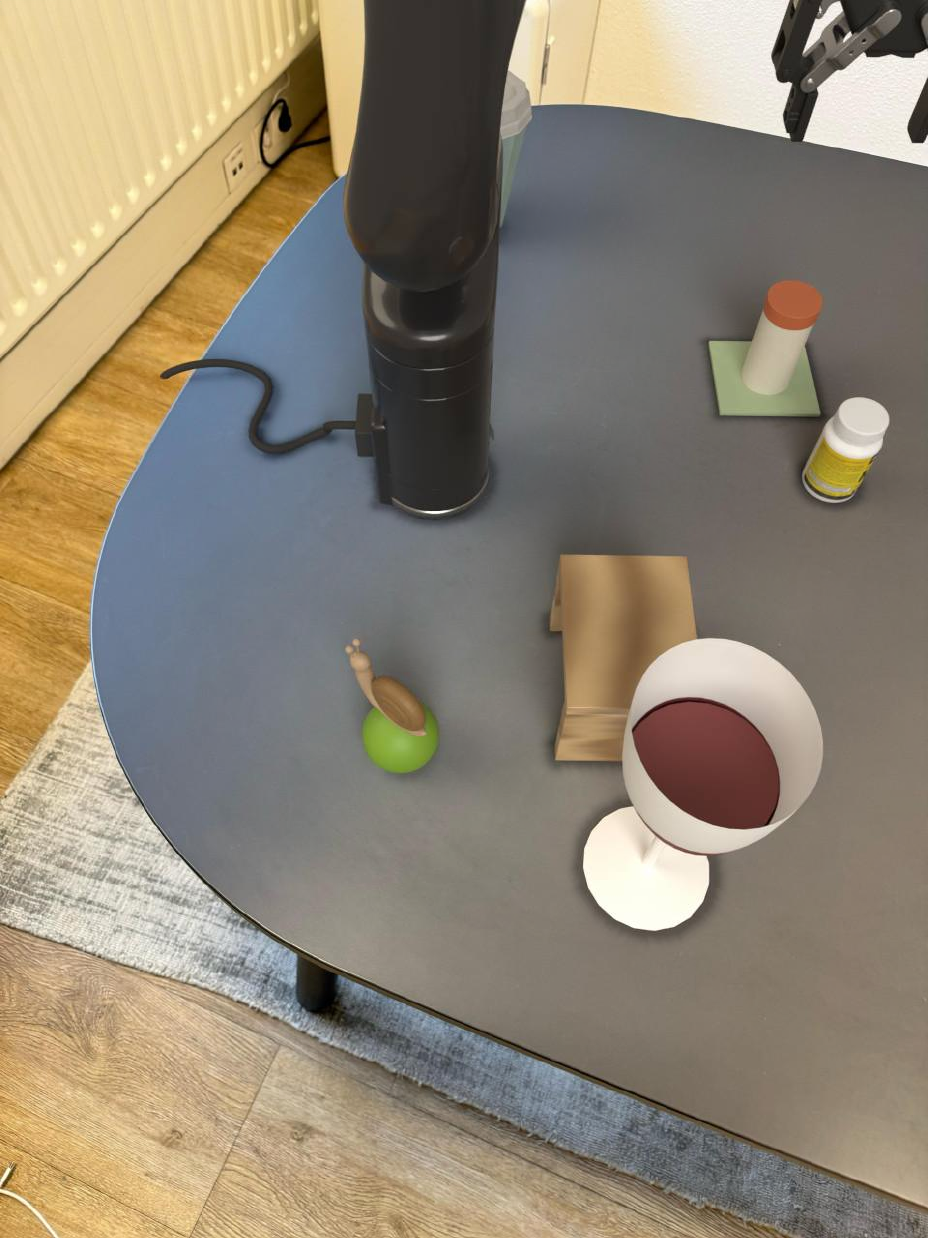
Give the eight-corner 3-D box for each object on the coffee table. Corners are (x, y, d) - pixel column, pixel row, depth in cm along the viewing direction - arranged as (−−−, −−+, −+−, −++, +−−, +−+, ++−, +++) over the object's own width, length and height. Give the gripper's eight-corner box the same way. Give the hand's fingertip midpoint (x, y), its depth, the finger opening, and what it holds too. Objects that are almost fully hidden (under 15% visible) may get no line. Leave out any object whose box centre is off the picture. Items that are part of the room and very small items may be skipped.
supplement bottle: (856, 508, 82) (895, 443, 75) (800, 499, 82) (833, 433, 75) (856, 465, 84) (894, 397, 77) (801, 456, 85) (833, 388, 78)
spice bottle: (743, 395, 88) (771, 317, 80) (736, 358, 90) (763, 279, 82) (793, 396, 88) (827, 318, 80) (786, 359, 90) (817, 280, 82)
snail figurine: (389, 694, 73) (377, 612, 63) (454, 744, 71) (454, 669, 61) (339, 746, 71) (319, 670, 60) (406, 799, 69) (396, 730, 58)
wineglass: (700, 794, 69) (798, 635, 49) (724, 938, 64) (844, 826, 44) (573, 798, 69) (619, 640, 49) (586, 943, 64) (645, 832, 44)
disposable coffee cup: (408, 204, 102) (401, 60, 89) (505, 185, 104) (512, 42, 91) (437, 269, 97) (434, 127, 84) (538, 248, 99) (551, 106, 86)
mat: (719, 415, 87) (720, 412, 87) (708, 343, 92) (709, 340, 91) (819, 416, 87) (820, 413, 87) (802, 344, 92) (804, 341, 91)
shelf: (554, 760, 70) (567, 707, 63) (549, 618, 76) (560, 553, 69) (678, 762, 70) (706, 709, 63) (663, 620, 76) (687, 555, 69)
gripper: (1061, -160, 57) (941, 106, 71) (818, -164, 57) (746, 103, 71) (1102, -98, 53) (967, 170, 67) (842, -102, 53) (761, 167, 67)
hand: (853, 135), depth 69 cm, fingers open, 8 cm apart
